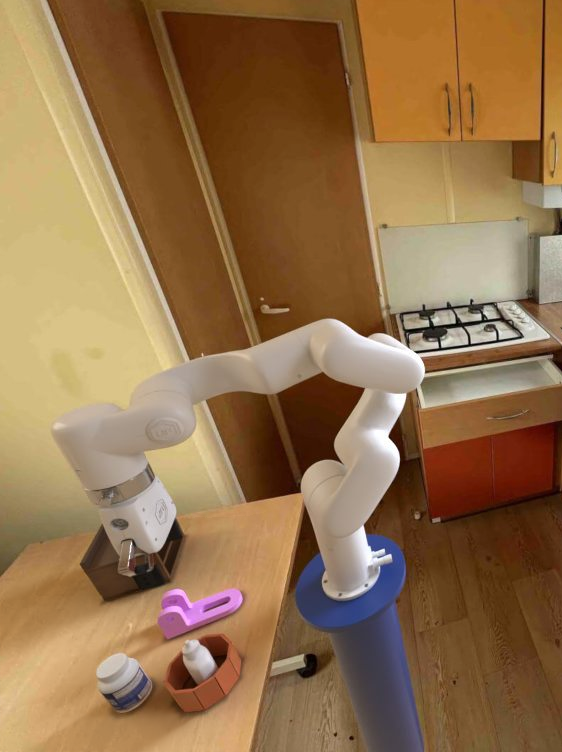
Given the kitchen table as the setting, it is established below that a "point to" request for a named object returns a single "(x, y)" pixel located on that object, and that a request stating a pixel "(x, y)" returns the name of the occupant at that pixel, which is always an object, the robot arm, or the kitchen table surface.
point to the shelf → (105, 561)
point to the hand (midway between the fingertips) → (163, 561)
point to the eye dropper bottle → (198, 661)
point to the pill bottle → (123, 682)
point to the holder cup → (210, 688)
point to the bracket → (194, 610)
